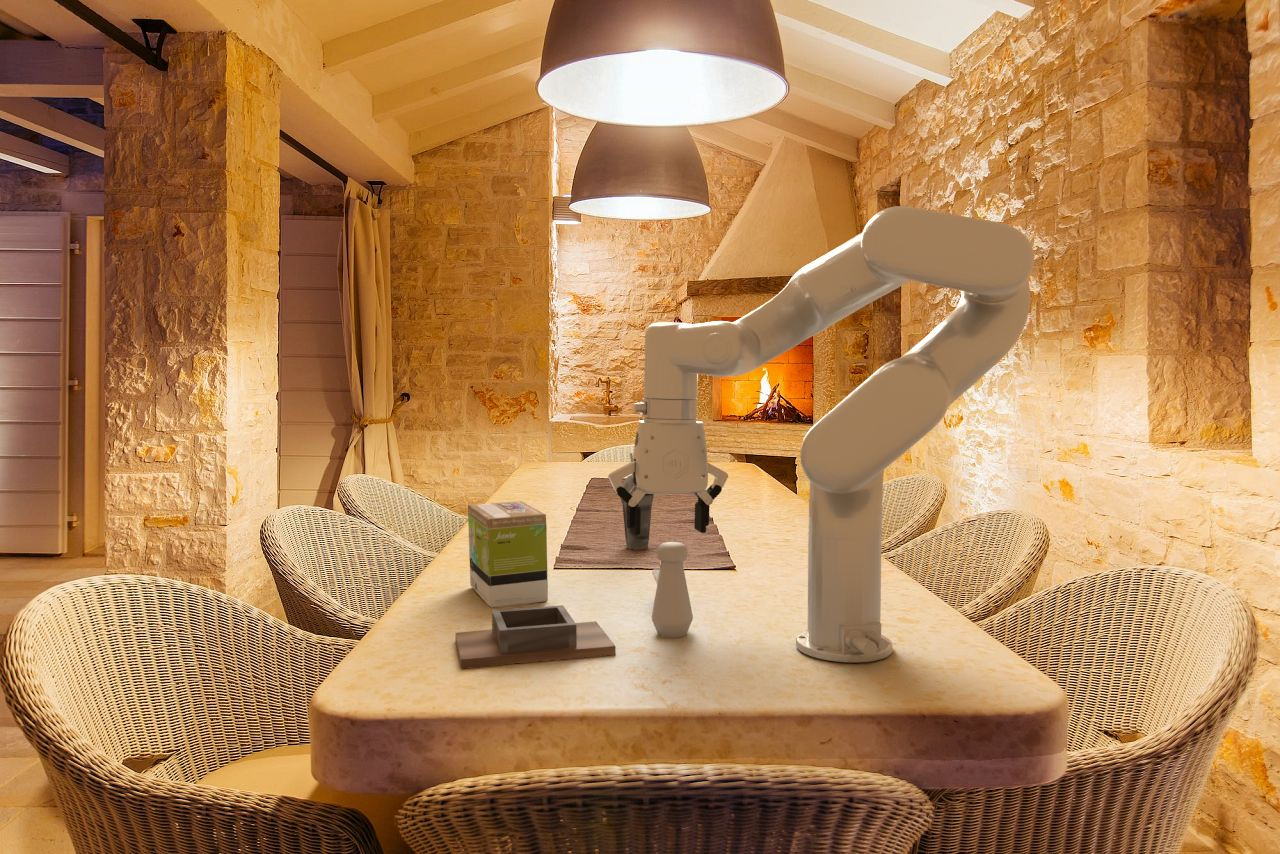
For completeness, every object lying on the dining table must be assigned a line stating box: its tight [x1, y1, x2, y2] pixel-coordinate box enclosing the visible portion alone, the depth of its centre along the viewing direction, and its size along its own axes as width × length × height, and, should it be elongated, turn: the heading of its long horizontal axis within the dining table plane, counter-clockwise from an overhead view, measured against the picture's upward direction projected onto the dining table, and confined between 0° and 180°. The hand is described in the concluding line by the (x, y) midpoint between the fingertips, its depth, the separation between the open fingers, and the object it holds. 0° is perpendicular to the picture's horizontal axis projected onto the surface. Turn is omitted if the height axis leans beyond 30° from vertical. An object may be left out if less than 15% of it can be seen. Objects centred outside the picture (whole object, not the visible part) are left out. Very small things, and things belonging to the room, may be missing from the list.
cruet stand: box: [454, 604, 617, 669], centre depth 122 cm, size 12×20×4 cm, turn 105°
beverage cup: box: [620, 452, 655, 551], centre depth 189 cm, size 7×7×20 cm
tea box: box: [467, 500, 549, 609], centre depth 150 cm, size 15×10×15 cm, turn 23°
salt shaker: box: [651, 541, 694, 639], centre depth 127 cm, size 6×6×13 cm
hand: (667, 532), depth 127 cm, fingers open, 9 cm apart
